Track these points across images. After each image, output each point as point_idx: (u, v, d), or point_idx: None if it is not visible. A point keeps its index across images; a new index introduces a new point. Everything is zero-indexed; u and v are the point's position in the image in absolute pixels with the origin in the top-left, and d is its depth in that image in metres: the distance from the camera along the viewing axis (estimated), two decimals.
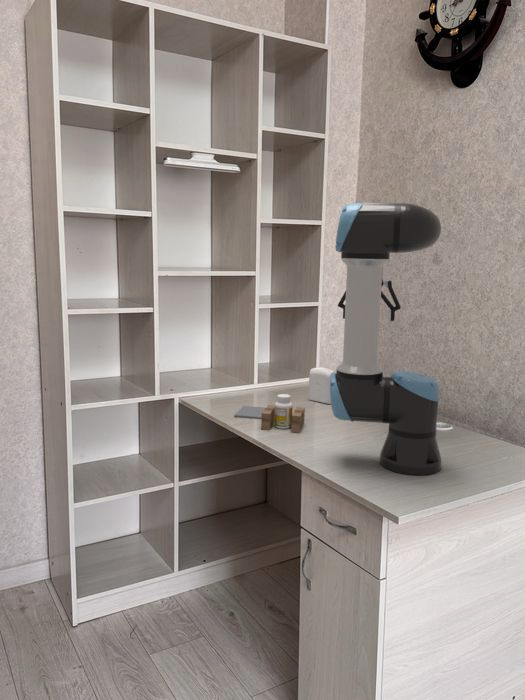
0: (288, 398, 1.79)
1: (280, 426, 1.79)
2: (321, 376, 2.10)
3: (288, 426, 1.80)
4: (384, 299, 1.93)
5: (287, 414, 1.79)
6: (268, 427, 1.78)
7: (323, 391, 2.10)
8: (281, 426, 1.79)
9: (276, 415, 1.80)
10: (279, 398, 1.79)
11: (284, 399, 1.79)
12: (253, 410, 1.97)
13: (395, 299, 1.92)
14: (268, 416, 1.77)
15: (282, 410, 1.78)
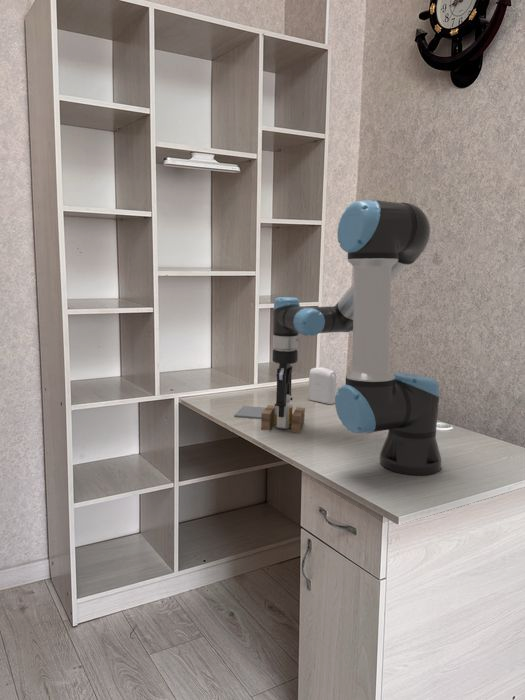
0: (288, 398, 1.79)
1: None
2: (321, 376, 2.10)
3: (288, 426, 1.80)
4: None
5: (287, 414, 1.79)
6: (268, 427, 1.78)
7: (323, 391, 2.10)
8: None
9: (276, 415, 1.80)
10: None
11: None
12: (253, 410, 1.97)
13: None
14: (268, 416, 1.77)
15: None
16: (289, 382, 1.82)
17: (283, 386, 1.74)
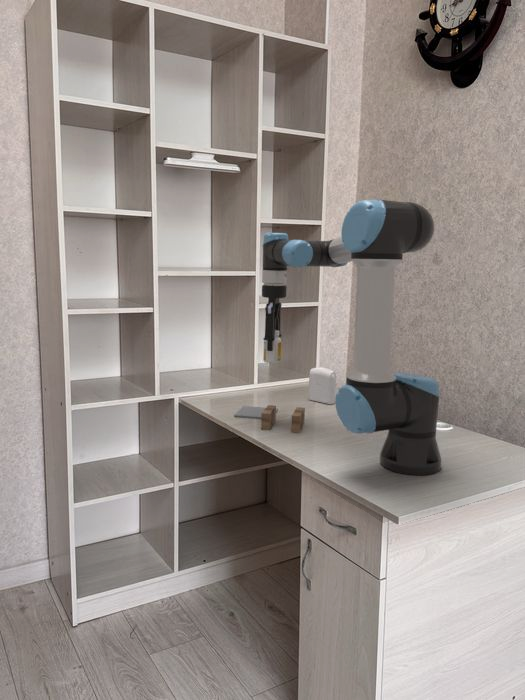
0: (277, 333, 1.82)
1: None
2: (321, 376, 2.10)
3: (277, 361, 1.83)
4: None
5: (276, 349, 1.82)
6: (268, 427, 1.78)
7: (323, 391, 2.10)
8: None
9: (264, 349, 1.83)
10: None
11: None
12: (253, 410, 1.97)
13: None
14: (268, 416, 1.77)
15: None
16: (278, 318, 1.85)
17: (272, 319, 1.77)
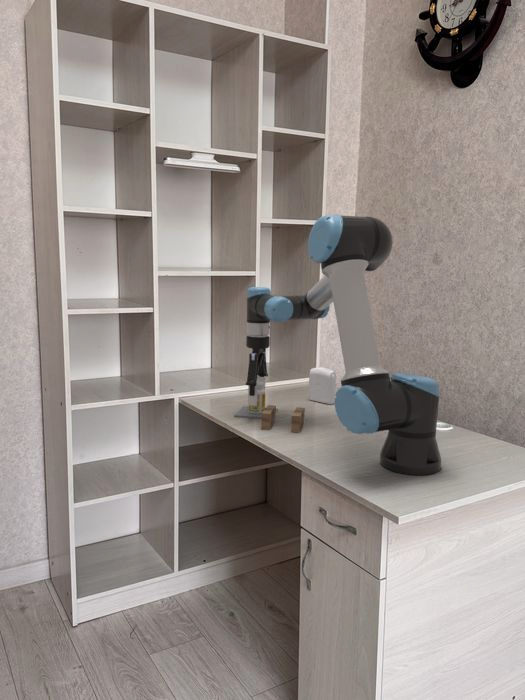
0: (261, 385, 1.93)
1: (253, 411, 1.93)
2: (321, 376, 2.10)
3: (261, 411, 1.93)
4: None
5: (260, 400, 1.93)
6: (268, 427, 1.78)
7: (323, 391, 2.10)
8: (254, 411, 1.93)
9: None
10: None
11: (257, 386, 1.92)
12: None
13: None
14: (268, 416, 1.77)
15: None
16: (263, 363, 1.97)
17: (254, 365, 1.85)
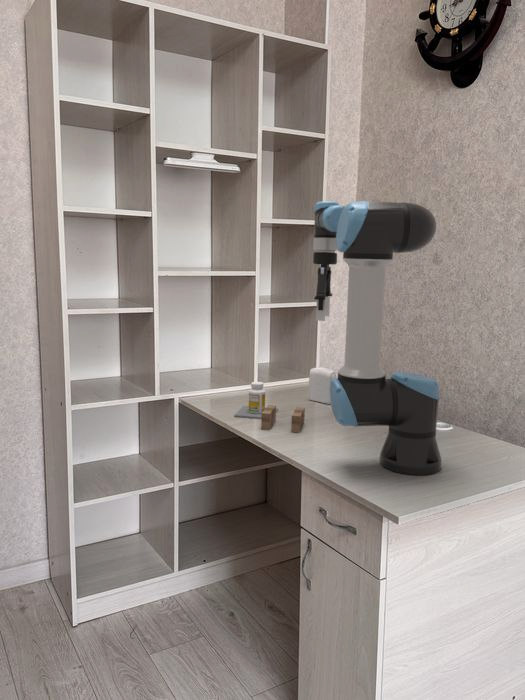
0: (261, 385, 1.93)
1: (253, 411, 1.93)
2: (321, 376, 2.10)
3: (261, 411, 1.93)
4: None
5: (260, 400, 1.93)
6: (268, 427, 1.78)
7: (323, 391, 2.10)
8: (254, 411, 1.93)
9: (249, 401, 1.94)
10: (252, 385, 1.93)
11: (257, 386, 1.92)
12: None
13: (317, 287, 1.83)
14: (268, 416, 1.77)
15: (256, 396, 1.92)
16: (329, 282, 1.94)
17: (324, 279, 1.83)
